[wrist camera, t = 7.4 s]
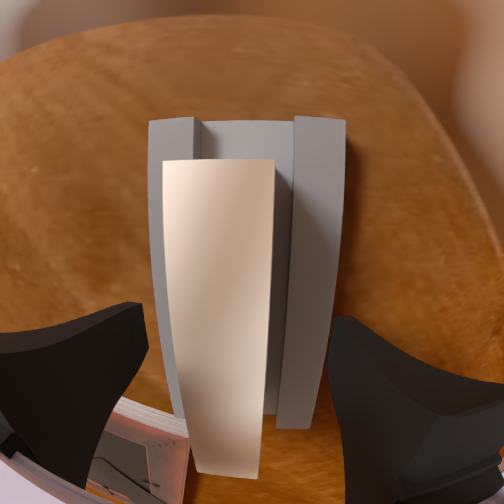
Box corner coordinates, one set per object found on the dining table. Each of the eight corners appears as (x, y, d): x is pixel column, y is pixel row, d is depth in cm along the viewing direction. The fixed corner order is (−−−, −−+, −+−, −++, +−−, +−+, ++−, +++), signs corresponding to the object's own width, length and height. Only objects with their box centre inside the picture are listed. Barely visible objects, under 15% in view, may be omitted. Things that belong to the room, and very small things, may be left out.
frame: (275, 168, 12) (274, 159, 6) (264, 393, 15) (257, 478, 9) (215, 167, 12) (162, 160, 6) (219, 389, 15) (197, 471, 9)
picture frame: (182, 508, 23) (196, 415, 18) (178, 522, 21) (187, 440, 15) (68, 460, 24) (24, 340, 18) (60, 472, 21) (7, 353, 16)
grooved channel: (336, 127, 12) (345, 120, 10) (307, 408, 16) (309, 429, 14) (164, 127, 12) (149, 120, 11) (182, 399, 16) (175, 417, 15)
